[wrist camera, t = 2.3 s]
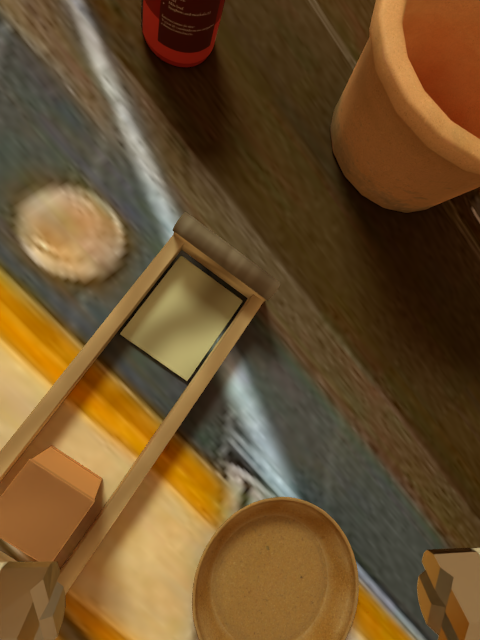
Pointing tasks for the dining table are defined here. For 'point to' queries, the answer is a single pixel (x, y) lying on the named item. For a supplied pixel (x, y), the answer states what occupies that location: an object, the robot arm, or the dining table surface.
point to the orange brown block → (46, 503)
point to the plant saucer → (276, 576)
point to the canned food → (181, 29)
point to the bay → (160, 351)
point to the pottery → (413, 106)
